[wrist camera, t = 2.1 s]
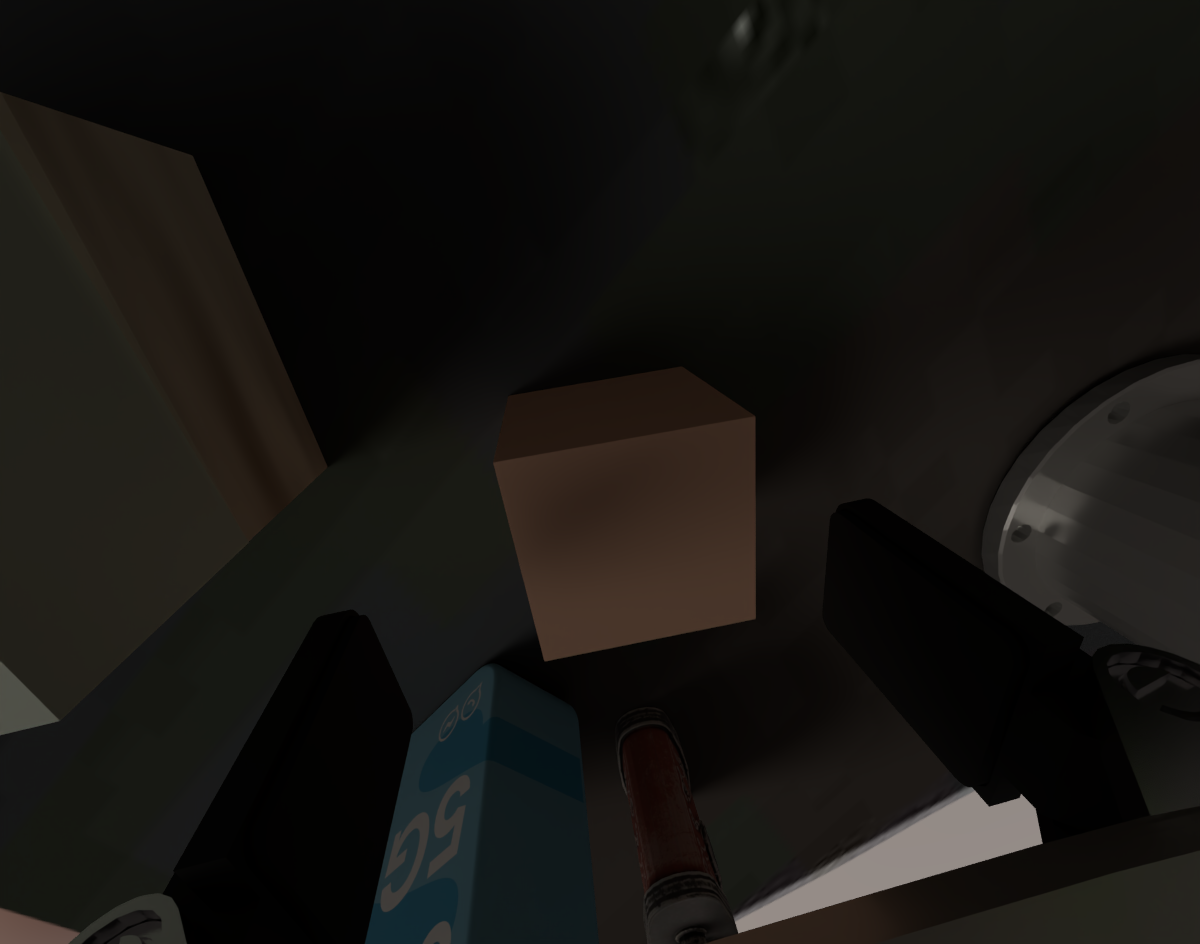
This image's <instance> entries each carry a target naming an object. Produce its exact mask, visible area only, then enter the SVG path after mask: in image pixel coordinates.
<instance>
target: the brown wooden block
mask: <svg viewBox="0 0 1200 944" xmlns="http://www.w3.org/2000/svg"><path fill="white" fill-rule="evenodd" d="M0 131H1V132H2V134H3V136H4V137H5V139H6V141H7V142H8V144H9V146H10V147H11V149H12V151H13V152H14V154H15V156H16V157H17V159H18V161H19V162H20V164H21V166H22V167H23V169H24V171H25V172H26V174H27V175H28V177H29V179H30V180H31V182H32V184H33V185H34V187H35V189H36V190H37V192H38V194H39V195H40V197H41V199H42V200H43V202H44V204H45V205H46V207H47V209H48V210H49V212H50V214H51V215H52V217H53V219H54V220H55V222H56V224H57V225H58V227H59V229H60V230H61V232H62V233H63V235H64V237H65V238H66V240H67V242H68V243H69V245H70V247H71V248H72V250H73V252H74V253H75V255H76V257H77V258H78V260H79V262H80V263H81V265H82V267H83V268H84V270H85V272H86V273H87V275H88V277H89V278H90V280H91V282H92V283H93V285H94V287H95V288H96V290H97V291H98V293H99V295H100V296H101V298H102V300H103V301H104V303H105V305H106V306H107V308H108V310H109V311H110V313H111V315H112V316H113V318H114V320H115V321H116V323H117V325H118V326H119V328H120V330H121V331H122V333H123V335H124V336H125V338H126V340H127V341H128V343H129V345H130V346H131V348H132V349H133V351H134V353H135V354H136V356H137V358H138V359H139V361H140V363H141V364H142V366H143V368H144V369H145V371H146V373H147V374H148V376H149V378H150V379H151V381H152V383H153V384H154V386H155V388H156V389H157V391H158V393H159V394H160V396H161V398H162V399H163V401H164V403H165V404H166V406H167V407H168V409H169V411H170V412H171V414H172V416H173V417H174V419H175V421H176V422H177V424H178V426H179V427H180V429H181V431H182V432H183V434H184V436H185V437H186V439H187V441H188V442H189V444H190V446H191V447H192V449H193V451H194V452H195V454H196V456H197V457H198V459H199V461H200V462H201V464H202V465H203V467H204V469H205V470H206V472H207V474H208V475H209V477H210V479H211V480H212V482H213V484H214V485H215V487H216V489H217V490H218V492H219V494H220V495H221V497H222V499H223V500H224V502H225V504H226V505H227V507H228V509H229V510H230V512H231V514H232V515H233V517H234V519H235V520H236V522H237V523H238V525H239V527H240V528H241V530H242V532H243V533H244V535H245V537H246V538H247V540H248V542H249V541H250V540H251V539H252V538H253V537H254V536H255V535H256V534H257V533H258V532H259V531H260V530H261V529H262V528H263V527H265V526H266V525H267V524H268V523H269V522H270V521H271V520H272V519H273V518H274V517H275V516H276V515H277V514H278V513H279V512H280V511H282V510H283V509H284V508H285V507H286V506H287V505H288V504H289V503H290V502H291V501H292V500H293V499H294V498H295V497H296V496H297V495H299V494H300V493H301V492H302V491H303V490H304V489H305V488H306V487H307V486H308V485H309V484H310V483H311V482H312V481H313V480H314V479H316V478H317V477H318V476H319V475H320V474H321V473H322V472H323V471H324V470H325V469H326V468H327V464H326V462H325V460H324V457H323V455H322V453H321V450H320V448H319V446H318V443H317V441H316V439H315V437H314V434H313V432H312V430H311V427H310V425H309V423H308V420H307V418H306V416H305V413H304V411H303V409H302V407H301V404H300V402H299V400H298V397H297V395H296V393H295V390H294V388H293V386H292V383H291V381H290V379H289V377H288V374H287V372H286V370H285V367H284V365H283V363H282V360H281V358H280V356H279V353H278V351H277V349H276V347H275V344H274V342H273V340H272V337H271V335H270V333H269V330H268V328H267V326H266V324H265V321H264V319H263V317H262V314H261V312H260V310H259V307H258V305H257V303H256V300H255V298H254V296H253V294H252V291H251V289H250V287H249V284H248V282H247V280H246V277H245V275H244V273H243V270H242V268H241V266H240V264H239V261H238V259H237V257H236V254H235V252H234V250H233V247H232V245H231V243H230V240H229V238H228V236H227V234H226V231H225V229H224V227H223V224H222V222H221V220H220V217H219V215H218V213H217V210H216V208H215V206H214V204H213V201H212V199H211V197H210V194H209V192H208V190H207V187H206V185H205V183H204V180H203V178H202V176H201V174H200V171H199V169H198V167H197V164H196V162H195V160H194V157H193V156H192V155H189V154H186V153H183V152H180V151H177V150H174V149H171V148H168V147H165V146H162V145H159V144H156V143H153V142H150V141H147V140H144V139H141V138H138V137H135V136H132V135H129V134H126V133H123V132H120V131H117V130H114V129H111V128H108V127H105V126H102V125H99V124H96V123H93V122H90V121H87V120H84V119H81V118H78V117H75V116H71V115H68V114H65V113H62V112H59V111H56V110H53V109H50V108H47V107H44V106H41V105H38V104H35V103H32V102H29V101H26V100H23V99H20V98H17V97H14V96H11V95H8V94H5V93H2V92H0Z"/></svg>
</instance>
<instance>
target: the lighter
mask: <svg viewBox="0 0 1200 944" xmlns="http://www.w3.org/2000/svg"><path fill="white" fill-rule="evenodd" d="M615 740H616V754H617V760H618V766H619V771H620V775H621V780H622V785H623V788H624V790H625V792H626V794H627V797H628V800H629V805H630V811H631V817H632V823H633V829H634V834H635V840H636V846H637V852H638V858H639V863H640V869H641V875H642V881H643V887H644V892H645V896H644V924H645V930H646V936H647V942H648V944H705V943H708V942H712V941H715V940H718V939H722V938H725V937H728V936H732V935H735V934H738V931H737V928H736V924H735V921H734V918H733V915H732V912H731V909H730V907H729V904H728V901H727V898H726V896H725V894H724V893H723V890H722V879H721V875H720V872H719V869H718V866H717V862H716V859H715V856H714V852H713V849H712V846H711V842H710V840H709V837H708V834H707V831H706V828H705V826H704V823H703V822H702V821H701V820H700V821H699V817H698V814H697V810H696V807H695V804H694V800H693V797H692V793H691V788H690V779H689V770H688V766H687V763H686V759H685V756H684V753H683V750H682V747H681V744H680V741H679V738H678V735H677V733H676V731H675V729H674V727H673V726H672V724H671V722H670V720H669V718H668V717H667V715H666V714H665V713H664V712H663V711H662V710H660V709H657V708H654V707H643V708H637V709H635V710H632V711H629V712H628V713H626V714H625V715H623V716H622V717H621V718H620V719H619V720H618V721H617V723H616V727H615Z"/></svg>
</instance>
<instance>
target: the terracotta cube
mask: <svg viewBox="0 0 1200 944" xmlns="http://www.w3.org/2000/svg"><path fill="white" fill-rule="evenodd" d="M493 463H494V467H495V471H496V475H497V479H498V483H499V487H500V491H501V494H502V498H503V502H504V506H505V510H506V514H507V518H508V522H509V526H510V529H511V533H512V537H513V541H514V545H515V549H516V553H517V557H518V560H519V564H520V568H521V572H522V576H523V580H524V584H525V588H526V592H527V595H528V599H529V603H530V607H531V611H532V615H533V619H534V623H535V627H536V630H537V634H538V638H539V642H540V646H541V650H542V654H543V658H544V662H545V661H549V660H554V659H559V658H564V657H569V656H574V655H579V654H584V653H589V652H594V651H599V650H604V649H609V648H614V647H619V646H624V645H629V644H634V643H639V642H644V641H649V640H654V639H659V638H664V637H669V636H674V635H679V634H684V633H688V632H693V631H698V630H703V629H708V628H713V627H718V626H723V625H728V624H733V623H738V622H743V621H748V620H753V619H756V494H755V416H754V415H753V414H751V413H750V412H748V411H747V410H745V409H744V408H743V407H741V406H740V405H738V404H737V403H735V402H734V401H732V400H731V399H729V398H728V397H726V396H725V395H723V394H722V393H720V392H719V391H717V390H716V389H715V388H713V387H712V386H710V385H709V384H707V383H706V382H704V381H703V380H701V379H700V378H698V377H697V376H695V375H694V374H692V373H691V372H689V371H688V370H687V369H685V368H684V367H682V366H681V367H675V368H669V369H664V370H658V371H652V372H646V373H640V374H634V375H628V376H622V377H616V378H610V379H605V380H599V381H593V382H587V383H581V384H575V385H569V386H563V387H557V388H551V389H546V390H540V391H534V392H528V393H522V394H516V395H510V396H508V400H507V404H506V409H505V413H504V418H503V422H502V426H501V431H500V435H499V440H498V444H497V448H496V453H495V457H494V462H493Z"/></svg>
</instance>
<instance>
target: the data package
mask: <svg viewBox="0 0 1200 944" xmlns="http://www.w3.org/2000/svg"><path fill="white" fill-rule="evenodd" d="M365 944H599V939H598V928H597V918H596V907H595V896H594V885H593V874H592V863H591V852H590V842H589V831H588V820H587V809H586V798H585V787H584V777H583V766H582V755H581V744H580V733H579V723H578V717H577V714H576V712H575V710H574V709H573V707H572V706H571V705H569V704H568V703H566V702H564V701H562V700H560V699H559V698H557V697H555V696H553V695H552V694H550V693H548V692H546V691H544V690H543V689H541V688H539V687H537V686H536V685H534V684H532V683H530V682H528V681H527V680H525V679H523V678H521V677H520V676H518V675H516V674H514V673H512V672H511V671H509V670H507V669H505V668H504V667H502V666H500V665H498V664H495V663H491V664H487V665H485V666H483V667H481V668H480V669H479V670H478V671H476V672H475V673H474V674H473V675H472V676H471V677H470V678H469V679H468V680H467V681H466V682H465V683H464V684H463V685H462V686H461V687H460V688H459V689H458V690H457V691H456V692H455V693H454V694H453V695H452V696H451V697H450V698H448V699H447V700H446V701H445V702H444V703H443V704H442V705H441V706H440V707H439V708H438V709H437V710H436V711H435V712H434V713H433V714H432V715H431V716H430V717H429V718H428V719H427V720H426V721H425V722H424V723H423V724H422V725H421V726H420V727H419V728H417V729H416V730H415V731H414V732H413V733H412V735H411V739H410V744H409V748H408V753H407V757H406V762H405V766H404V771H403V775H402V779H401V784H400V788H399V793H398V797H397V802H396V806H395V811H394V815H393V820H392V824H391V829H390V833H389V838H388V842H387V847H386V851H385V856H384V860H383V865H382V869H381V874H380V878H379V883H378V887H377V892H376V896H375V901H374V905H373V910H372V914H371V919H370V923H369V928H368V932H367V937H366V941H365Z"/></svg>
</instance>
